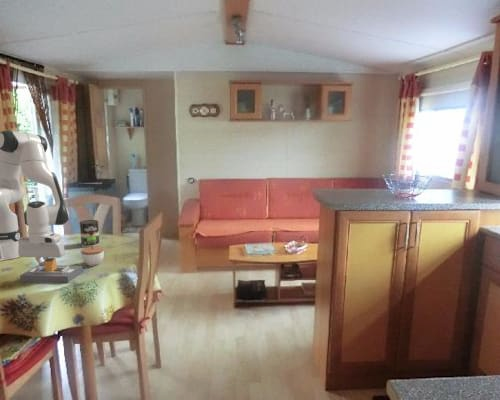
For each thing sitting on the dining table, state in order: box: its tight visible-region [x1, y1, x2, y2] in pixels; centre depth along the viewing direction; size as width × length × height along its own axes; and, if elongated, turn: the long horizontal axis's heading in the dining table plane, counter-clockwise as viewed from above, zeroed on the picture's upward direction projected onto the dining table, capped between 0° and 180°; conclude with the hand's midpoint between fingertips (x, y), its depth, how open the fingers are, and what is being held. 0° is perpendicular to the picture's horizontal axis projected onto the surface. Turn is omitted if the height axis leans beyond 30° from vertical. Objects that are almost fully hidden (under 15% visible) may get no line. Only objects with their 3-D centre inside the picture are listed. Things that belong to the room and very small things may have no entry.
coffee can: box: [79, 219, 101, 248], centre depth 219 cm, size 10×10×14 cm
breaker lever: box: [45, 258, 57, 271], centre depth 170 cm, size 3×4×5 cm
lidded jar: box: [80, 245, 105, 267], centre depth 187 cm, size 11×11×9 cm
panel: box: [19, 264, 84, 284], centre depth 171 cm, size 22×13×4 cm, turn 87°
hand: (42, 265), depth 170 cm, fingers closed
